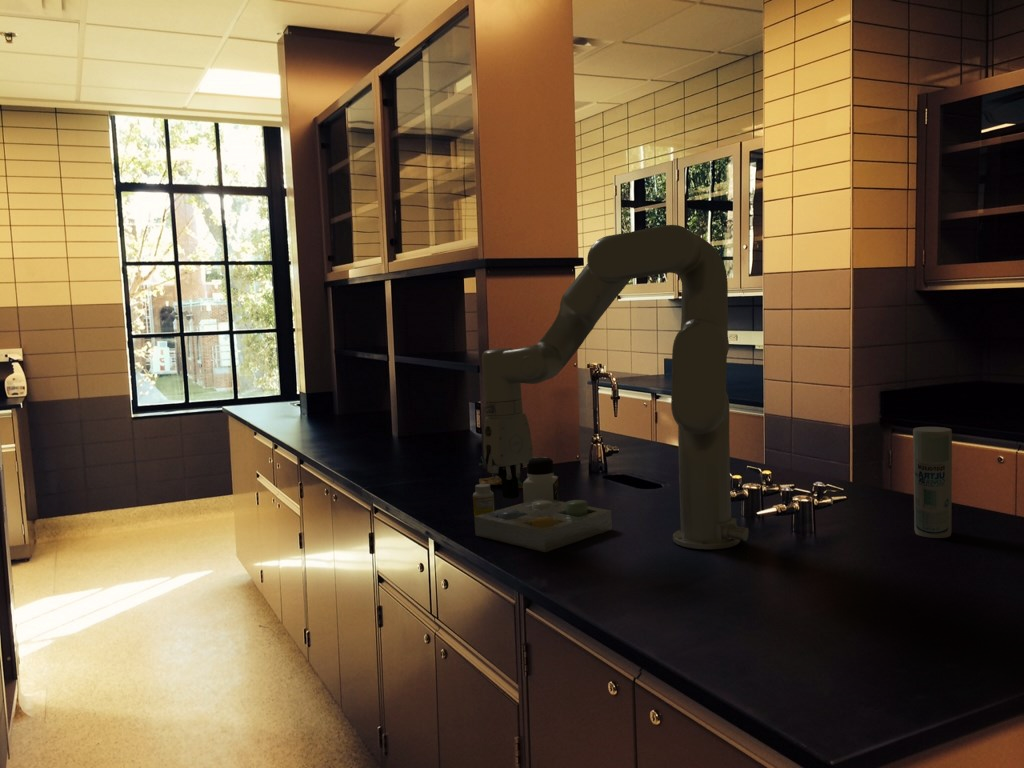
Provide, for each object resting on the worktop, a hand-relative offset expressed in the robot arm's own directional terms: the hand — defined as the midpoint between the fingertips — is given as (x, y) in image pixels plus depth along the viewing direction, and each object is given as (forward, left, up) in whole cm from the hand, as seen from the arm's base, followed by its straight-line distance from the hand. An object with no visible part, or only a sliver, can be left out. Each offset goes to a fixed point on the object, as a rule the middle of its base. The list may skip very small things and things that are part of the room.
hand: (511, 497), depth 170 cm
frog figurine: (+39, -32, -8) cm, 51 cm away
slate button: (+1, 0, -7) cm, 7 cm away
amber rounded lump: (-9, 0, -7) cm, 12 cm away
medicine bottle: (+10, -19, -8) cm, 22 cm away
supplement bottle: (+12, -3, -8) cm, 14 cm away
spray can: (-65, -48, -8) cm, 81 cm away
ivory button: (+1, -10, -7) cm, 12 cm away
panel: (-4, -5, -8) cm, 10 cm away
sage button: (-9, -10, -6) cm, 15 cm away
